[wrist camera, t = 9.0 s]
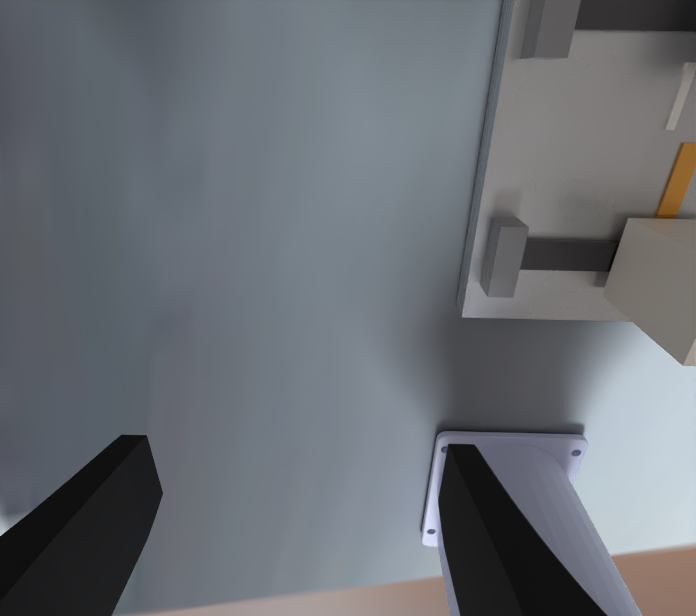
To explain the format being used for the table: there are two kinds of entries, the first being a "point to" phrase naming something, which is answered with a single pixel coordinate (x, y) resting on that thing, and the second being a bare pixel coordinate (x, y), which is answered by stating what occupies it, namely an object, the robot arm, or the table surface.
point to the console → (578, 151)
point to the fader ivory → (658, 282)
